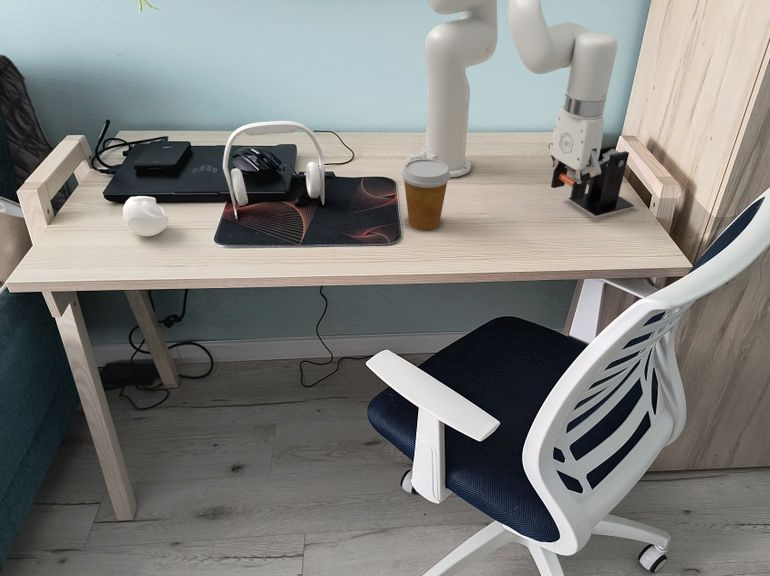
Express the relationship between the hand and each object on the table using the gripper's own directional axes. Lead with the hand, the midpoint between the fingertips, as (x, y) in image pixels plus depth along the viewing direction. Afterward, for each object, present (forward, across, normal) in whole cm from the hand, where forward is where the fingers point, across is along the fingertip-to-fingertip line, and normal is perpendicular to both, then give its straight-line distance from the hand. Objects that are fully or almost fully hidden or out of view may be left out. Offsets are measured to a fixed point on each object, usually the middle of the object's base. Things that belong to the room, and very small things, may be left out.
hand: (567, 192), depth 133 cm
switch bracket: (+6, 0, +11) cm, 12 cm away
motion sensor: (+6, -29, -78) cm, 84 cm away
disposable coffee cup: (+6, -10, -28) cm, 31 cm away
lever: (-3, 0, +6) cm, 7 cm away
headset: (+6, -29, -52) cm, 60 cm away
